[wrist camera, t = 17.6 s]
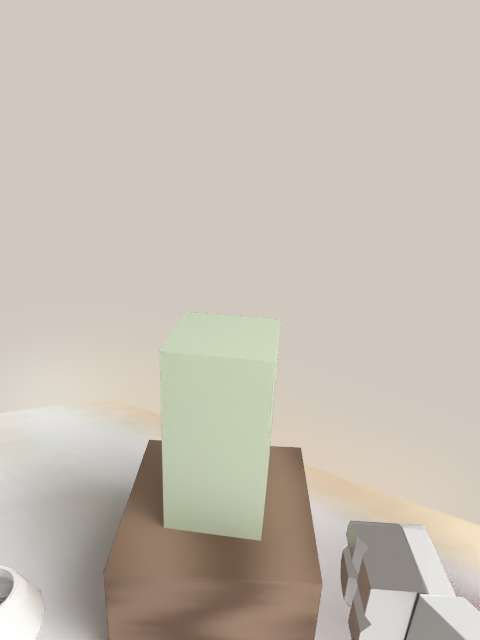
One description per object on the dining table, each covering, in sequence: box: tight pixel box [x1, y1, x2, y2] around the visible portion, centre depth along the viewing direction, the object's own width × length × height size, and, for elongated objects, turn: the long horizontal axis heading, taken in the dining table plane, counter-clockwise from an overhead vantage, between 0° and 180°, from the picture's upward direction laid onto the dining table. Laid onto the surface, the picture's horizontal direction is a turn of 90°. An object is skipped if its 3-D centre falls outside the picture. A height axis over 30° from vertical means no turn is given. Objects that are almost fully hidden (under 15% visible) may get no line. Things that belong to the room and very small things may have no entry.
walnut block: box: [103, 440, 322, 640], centre depth 27 cm, size 10×10×6 cm
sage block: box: [160, 312, 280, 541], centre depth 24 cm, size 5×5×10 cm
